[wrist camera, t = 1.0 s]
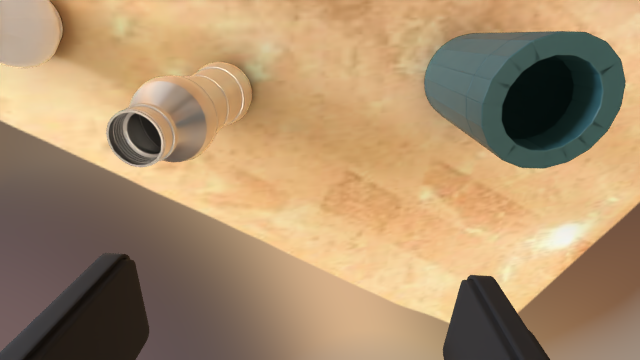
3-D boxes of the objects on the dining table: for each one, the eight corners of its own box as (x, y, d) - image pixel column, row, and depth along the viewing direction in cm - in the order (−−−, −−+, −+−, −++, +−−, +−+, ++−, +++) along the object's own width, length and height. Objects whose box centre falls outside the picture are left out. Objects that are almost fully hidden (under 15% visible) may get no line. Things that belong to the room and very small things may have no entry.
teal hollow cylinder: (430, 32, 36) (497, 30, 21) (518, 34, 36) (649, 33, 21) (418, 118, 39) (469, 166, 25) (498, 120, 39) (597, 170, 24)
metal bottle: (259, 67, 38) (190, 96, 19) (252, 124, 40) (184, 198, 22) (203, 54, 37) (77, 71, 19) (199, 112, 40) (85, 177, 22)
